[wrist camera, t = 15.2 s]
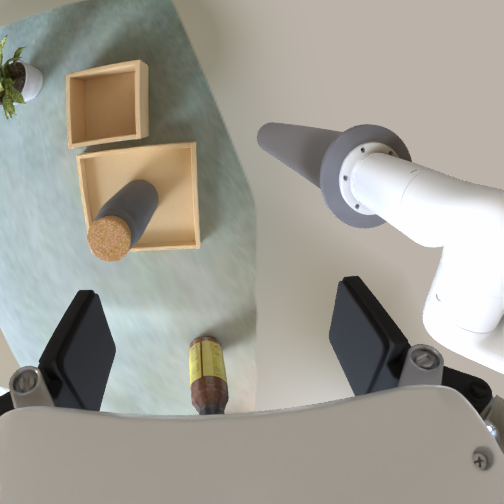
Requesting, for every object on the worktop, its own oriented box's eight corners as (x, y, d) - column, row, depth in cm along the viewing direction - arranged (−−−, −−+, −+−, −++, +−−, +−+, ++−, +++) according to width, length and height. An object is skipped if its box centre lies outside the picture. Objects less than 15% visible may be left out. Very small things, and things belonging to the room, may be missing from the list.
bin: (148, 66, 33) (140, 59, 28) (149, 135, 37) (141, 138, 32) (82, 78, 31) (66, 74, 27) (84, 144, 36) (68, 149, 31)
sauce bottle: (195, 359, 56) (196, 446, 38) (185, 337, 53) (181, 428, 35) (227, 353, 56) (237, 441, 38) (219, 331, 53) (227, 422, 35)
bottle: (167, 198, 41) (147, 240, 27) (141, 225, 42) (113, 277, 29) (138, 170, 38) (103, 200, 25) (113, 199, 40) (72, 241, 26)
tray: (196, 141, 38) (195, 142, 37) (200, 242, 45) (200, 248, 43) (81, 153, 36) (76, 155, 34) (96, 248, 43) (91, 254, 41)
